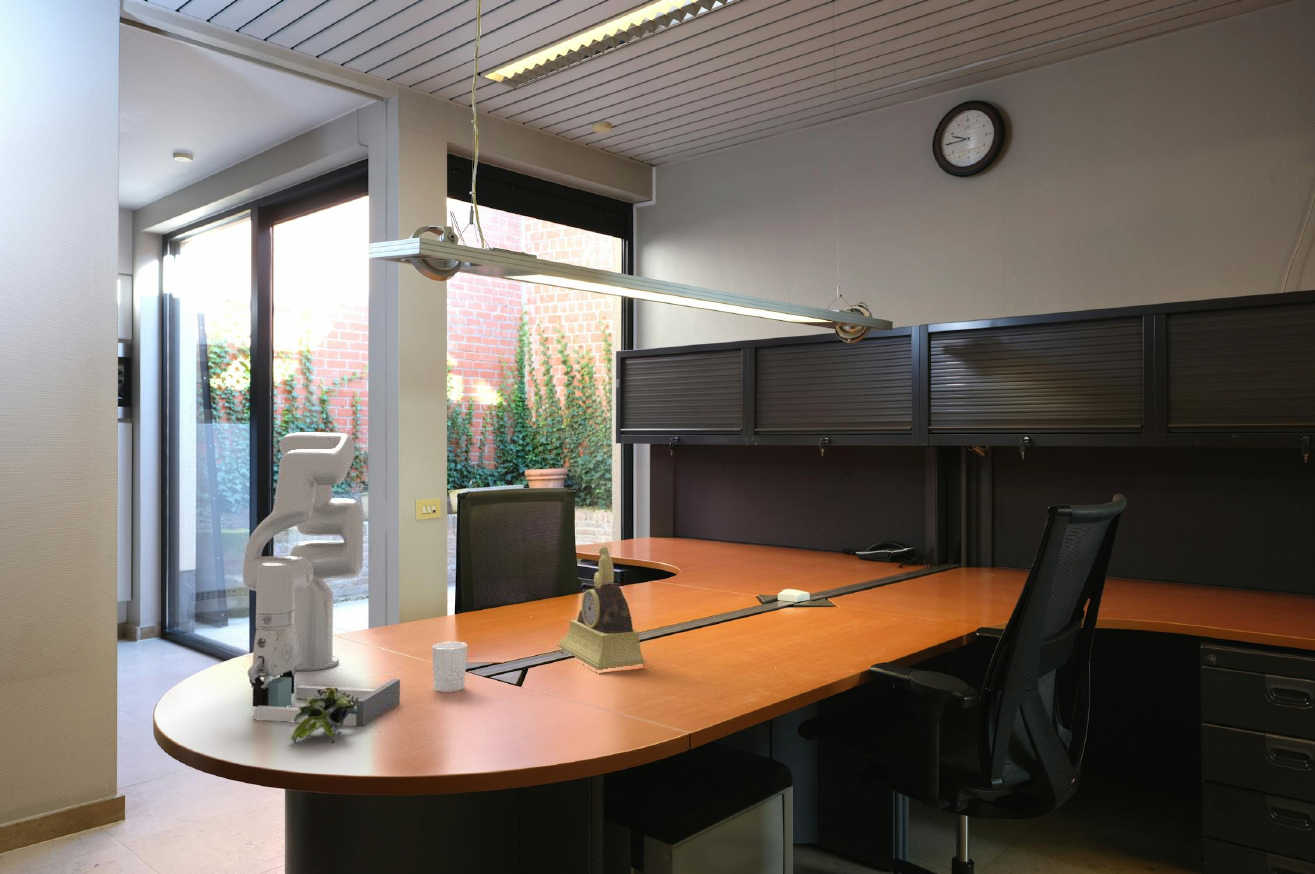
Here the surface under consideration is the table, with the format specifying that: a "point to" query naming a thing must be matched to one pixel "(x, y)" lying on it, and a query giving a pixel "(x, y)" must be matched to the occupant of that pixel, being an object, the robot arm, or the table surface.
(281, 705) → the block
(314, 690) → the guide channel
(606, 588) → the decorative clock
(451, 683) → the white cup
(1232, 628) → the table surface
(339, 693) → the passion flower
